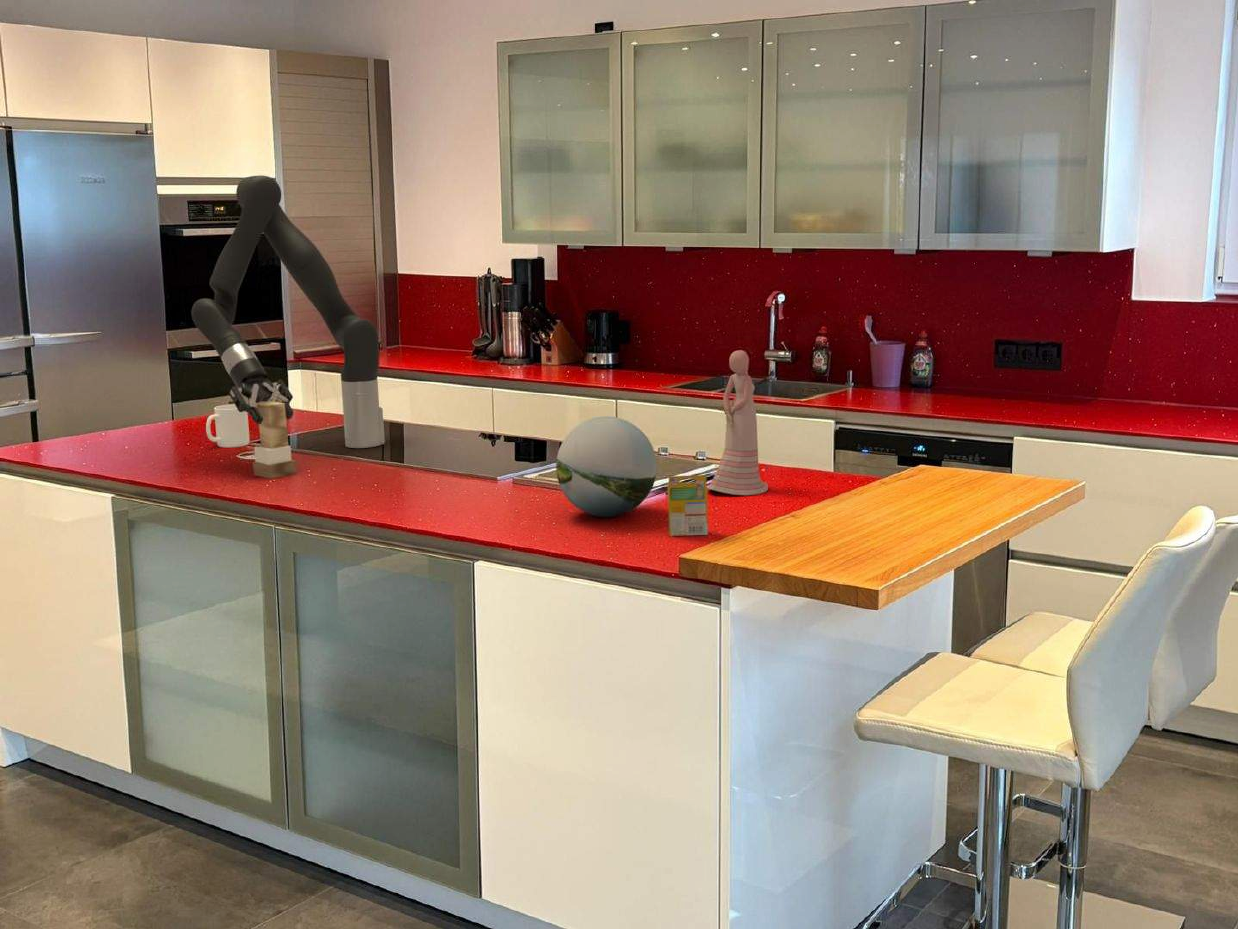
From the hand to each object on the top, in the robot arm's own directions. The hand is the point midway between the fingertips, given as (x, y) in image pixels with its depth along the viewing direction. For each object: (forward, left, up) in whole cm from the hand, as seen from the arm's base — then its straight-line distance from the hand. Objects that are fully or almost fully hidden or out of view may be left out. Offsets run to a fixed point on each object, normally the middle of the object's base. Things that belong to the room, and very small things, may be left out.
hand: (275, 419), depth 316 cm
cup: (-6, -44, -13) cm, 47 cm away
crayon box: (-33, +108, -13) cm, 113 cm away
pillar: (0, -1, -6) cm, 6 cm away
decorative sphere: (-31, +86, -13) cm, 92 cm away
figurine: (-65, +88, -13) cm, 110 cm away
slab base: (+1, -1, -13) cm, 14 cm away
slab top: (+1, -1, -10) cm, 10 cm away
